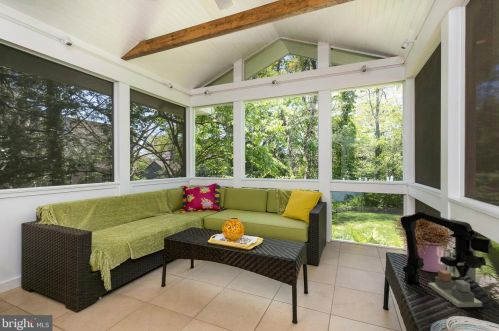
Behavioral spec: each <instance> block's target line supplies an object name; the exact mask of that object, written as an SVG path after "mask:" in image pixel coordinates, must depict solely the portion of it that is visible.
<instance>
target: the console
mask: <svg viewBox="0 0 499 331" xmlns="http://www.w3.org/2000/svg"><path fill="white" fill-rule="evenodd" d="M427 284H428V287H429V288H430V289H432V290H433V291H435V292H436V293H437V294H439V295H440V296H441V297H442V298H444V299H445V300H447V301H448V300H449V302H450V303H451V302H452V303H451V304H452V305H454V306H455V307H457V308H476V307H477V308H478V307H479V308H481V307H483V302H482V301H480V300H479V299H477V298H475V293H473V292H472V291H470V293H461V292H459V291H458V290H456V289H455V280H452V279H451V282H444V281H442V280H441V279H439V278H438V276H434V282H428V283H427Z"/></svg>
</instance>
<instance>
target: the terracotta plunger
mask: <svg viewBox="0 0 499 331" xmlns="http://www.w3.org/2000/svg"><path fill="white" fill-rule="evenodd" d="M437 277H438V278H439V279H441V280H442V281H444V282H451V280H452V277H451V273H450V272H448V271H447V269H439V270H438V269H437Z"/></svg>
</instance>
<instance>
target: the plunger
mask: <svg viewBox="0 0 499 331" xmlns="http://www.w3.org/2000/svg"><path fill="white" fill-rule="evenodd" d="M454 282H455V289H456V290H458V291H459V292H461V293H470V292H471V284H470V283H469V282H467V281H466V280H464V279H459V280H458V279H456V280H454Z"/></svg>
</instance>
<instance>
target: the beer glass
mask: <svg viewBox="0 0 499 331" xmlns="http://www.w3.org/2000/svg"><path fill="white" fill-rule="evenodd" d="M453 255H455V250H454V249H445V256H444V257H450V258H452V259H455V258H454V257H453ZM446 268H447V269H446V271H448V272H450V273H451V278H459V277H460V274H459V272H458V271H457V269H456V267H455V266H453V267H450V266H447V265H446Z"/></svg>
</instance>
